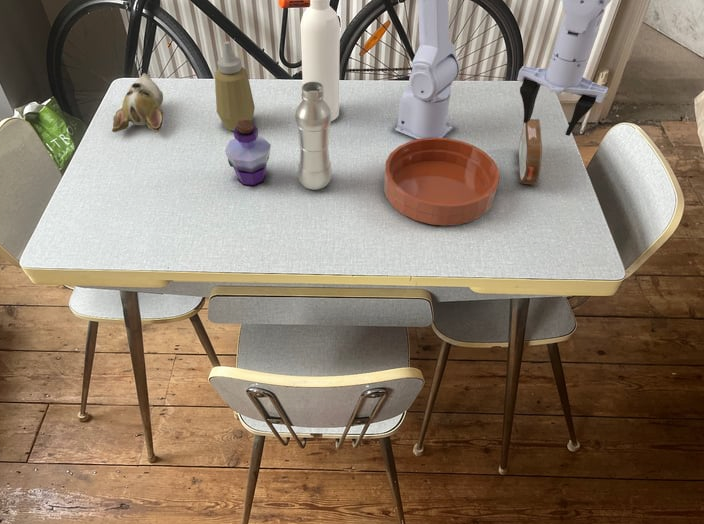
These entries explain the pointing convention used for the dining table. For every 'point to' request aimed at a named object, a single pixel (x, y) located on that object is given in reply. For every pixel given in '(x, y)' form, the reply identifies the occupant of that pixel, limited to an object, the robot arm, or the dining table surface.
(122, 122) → the ceramic sculpture
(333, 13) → the bottle
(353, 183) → the dining table surface
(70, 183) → the dining table surface
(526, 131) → the tin
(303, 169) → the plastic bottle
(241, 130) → the potion bottle
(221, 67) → the squeeze bottle
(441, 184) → the bowl
